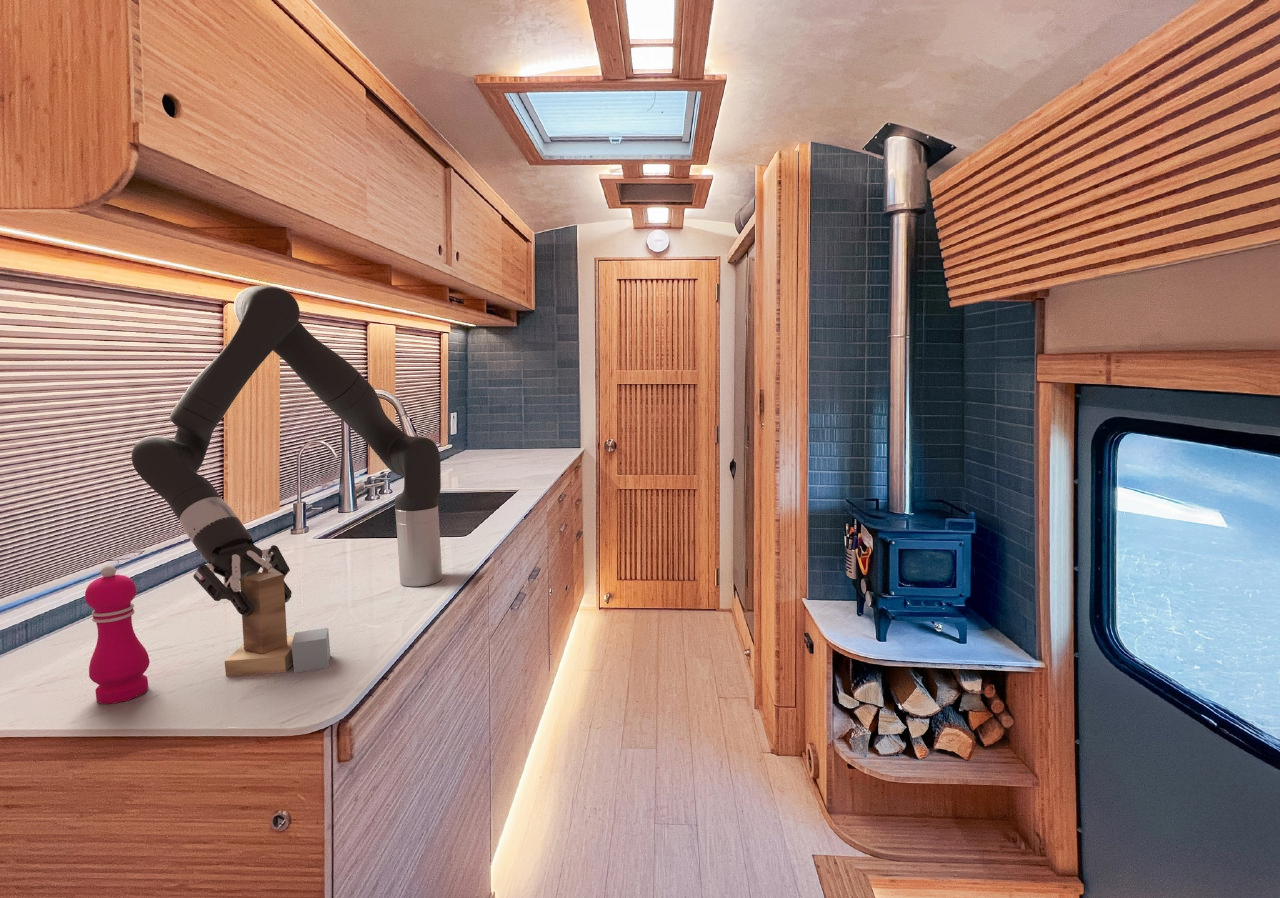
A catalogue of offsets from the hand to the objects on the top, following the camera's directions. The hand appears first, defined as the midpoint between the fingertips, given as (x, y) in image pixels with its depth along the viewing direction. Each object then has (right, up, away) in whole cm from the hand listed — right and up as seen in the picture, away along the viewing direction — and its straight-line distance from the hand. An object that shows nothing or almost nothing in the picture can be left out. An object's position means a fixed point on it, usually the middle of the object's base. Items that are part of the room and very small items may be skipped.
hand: (269, 606), depth 110 cm
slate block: (+7, -10, +1) cm, 12 cm away
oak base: (-1, -10, +2) cm, 10 cm away
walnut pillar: (-1, -7, +2) cm, 7 cm away
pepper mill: (-17, -11, -9) cm, 23 cm away
